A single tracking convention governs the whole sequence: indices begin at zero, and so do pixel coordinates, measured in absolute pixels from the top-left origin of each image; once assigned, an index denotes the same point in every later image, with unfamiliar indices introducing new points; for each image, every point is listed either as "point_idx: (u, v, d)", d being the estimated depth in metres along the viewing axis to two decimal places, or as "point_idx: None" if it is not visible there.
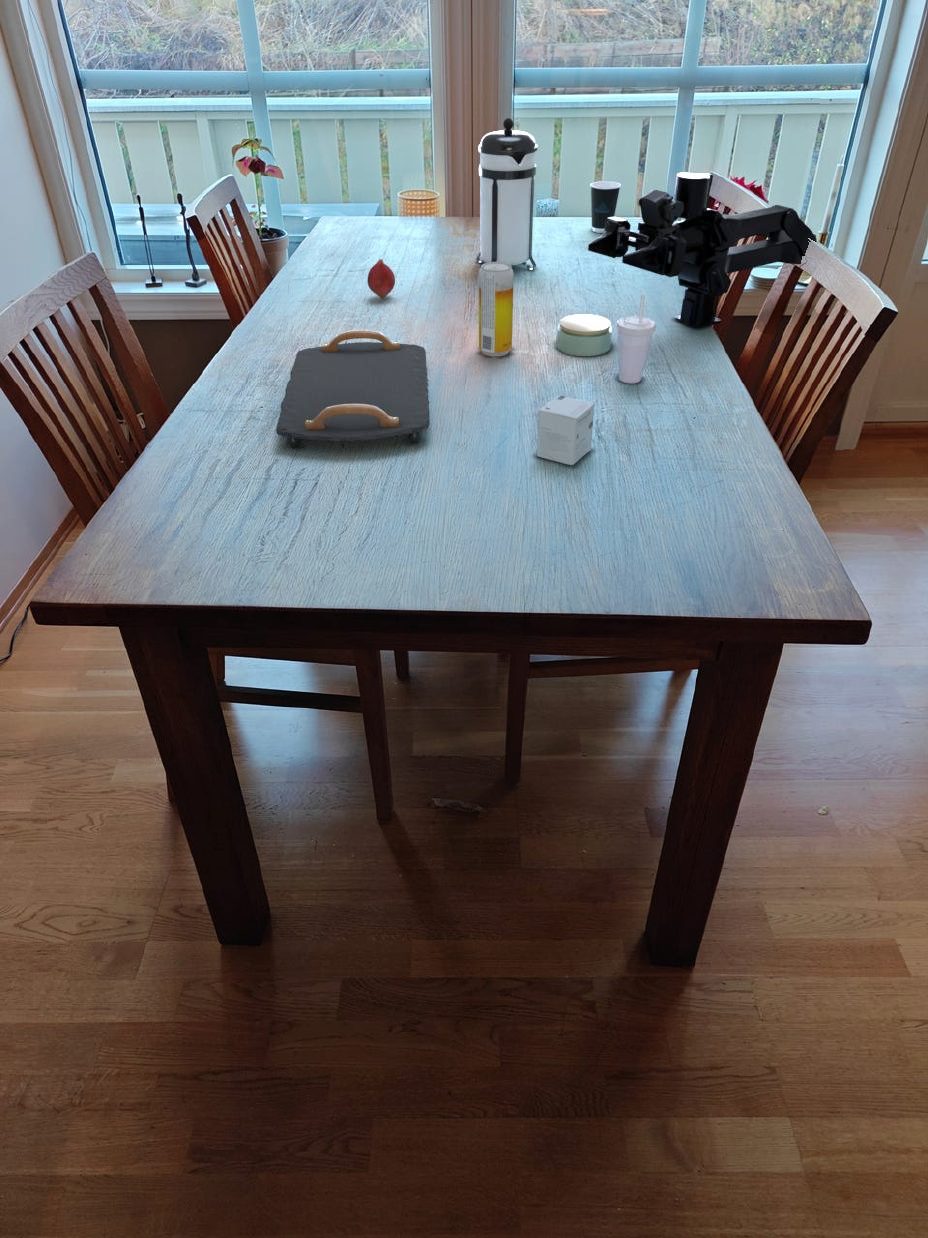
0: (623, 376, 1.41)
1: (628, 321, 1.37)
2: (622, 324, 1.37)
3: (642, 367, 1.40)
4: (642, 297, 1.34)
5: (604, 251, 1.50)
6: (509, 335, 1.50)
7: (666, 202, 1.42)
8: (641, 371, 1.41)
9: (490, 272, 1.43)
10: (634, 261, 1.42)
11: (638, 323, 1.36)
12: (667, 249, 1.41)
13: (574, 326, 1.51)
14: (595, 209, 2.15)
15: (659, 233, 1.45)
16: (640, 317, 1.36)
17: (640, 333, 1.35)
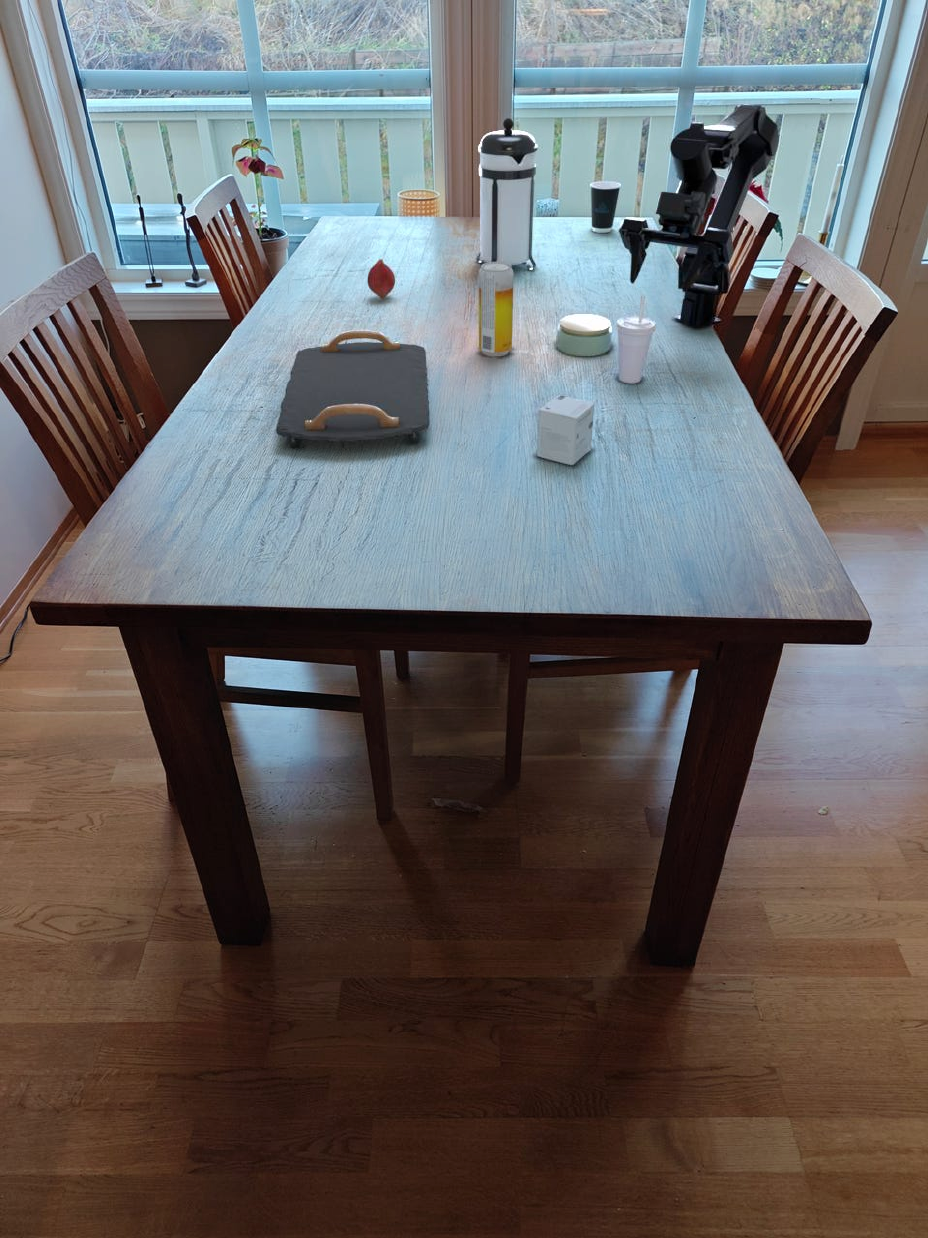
0: (623, 376, 1.41)
1: (628, 321, 1.37)
2: (622, 324, 1.37)
3: (642, 367, 1.40)
4: (642, 297, 1.34)
5: (640, 265, 1.43)
6: (509, 335, 1.50)
7: (690, 207, 1.32)
8: (641, 371, 1.41)
9: (490, 272, 1.43)
10: (692, 281, 1.38)
11: (638, 323, 1.36)
12: (717, 251, 1.35)
13: (574, 326, 1.51)
14: (595, 209, 2.15)
15: (691, 227, 1.37)
16: (640, 317, 1.36)
17: (640, 333, 1.35)
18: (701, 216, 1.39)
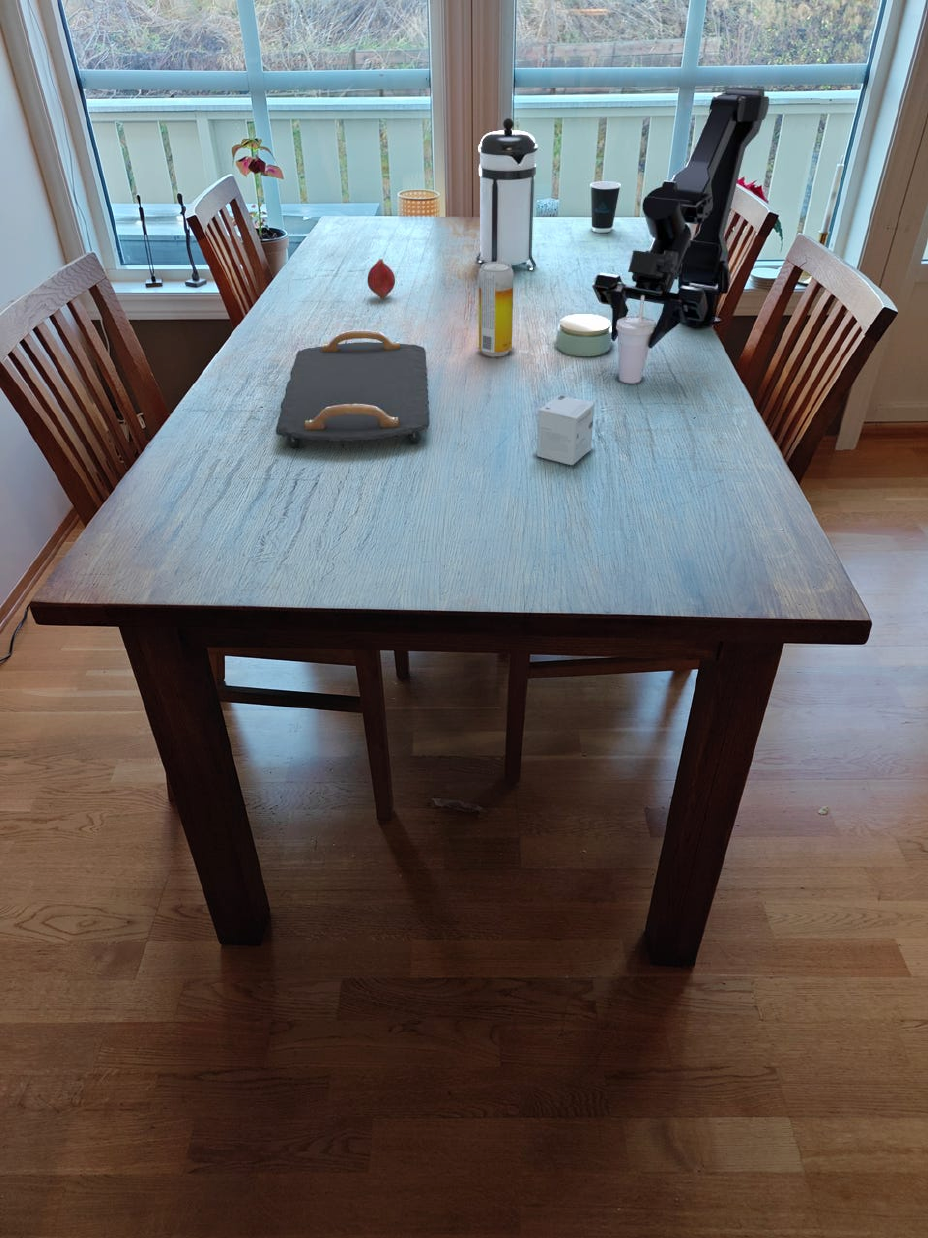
0: (623, 376, 1.41)
1: (628, 321, 1.37)
2: (622, 324, 1.37)
3: (642, 367, 1.40)
4: (642, 297, 1.34)
5: None
6: (508, 335, 1.50)
7: (662, 266, 1.30)
8: (641, 371, 1.41)
9: (490, 272, 1.43)
10: (658, 338, 1.37)
11: (638, 323, 1.36)
12: (683, 309, 1.34)
13: (574, 326, 1.51)
14: (595, 209, 2.15)
15: (664, 285, 1.35)
16: (640, 317, 1.36)
17: (640, 333, 1.35)
18: (675, 273, 1.37)
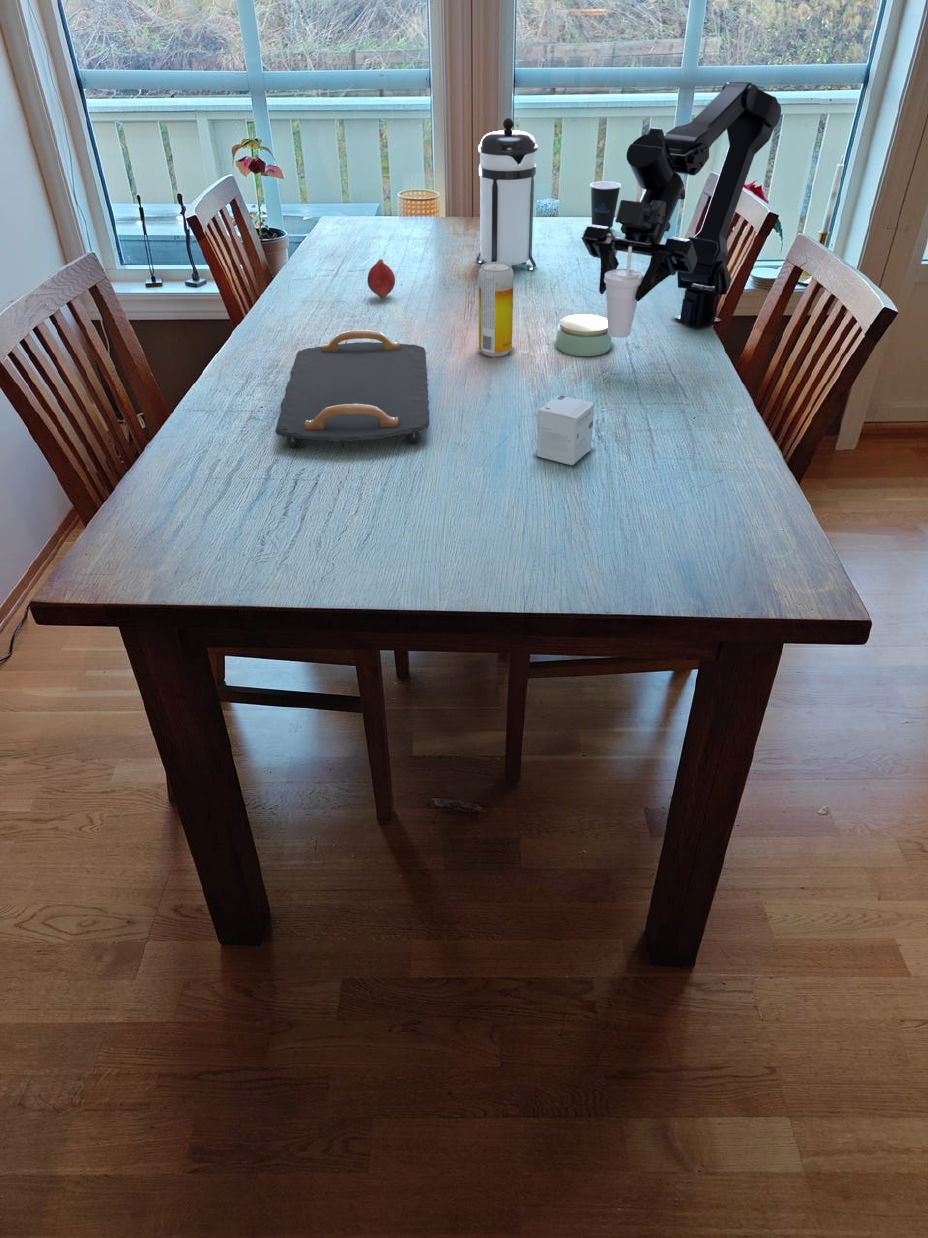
0: (611, 330, 1.40)
1: (616, 273, 1.36)
2: (609, 276, 1.35)
3: (630, 321, 1.39)
4: (629, 248, 1.33)
5: None
6: (509, 335, 1.50)
7: (649, 216, 1.29)
8: (629, 325, 1.39)
9: (490, 272, 1.43)
10: (646, 290, 1.35)
11: (625, 275, 1.35)
12: (670, 260, 1.32)
13: (574, 326, 1.51)
14: (595, 209, 2.15)
15: (653, 236, 1.33)
16: (628, 269, 1.35)
17: (627, 285, 1.34)
18: (665, 224, 1.35)
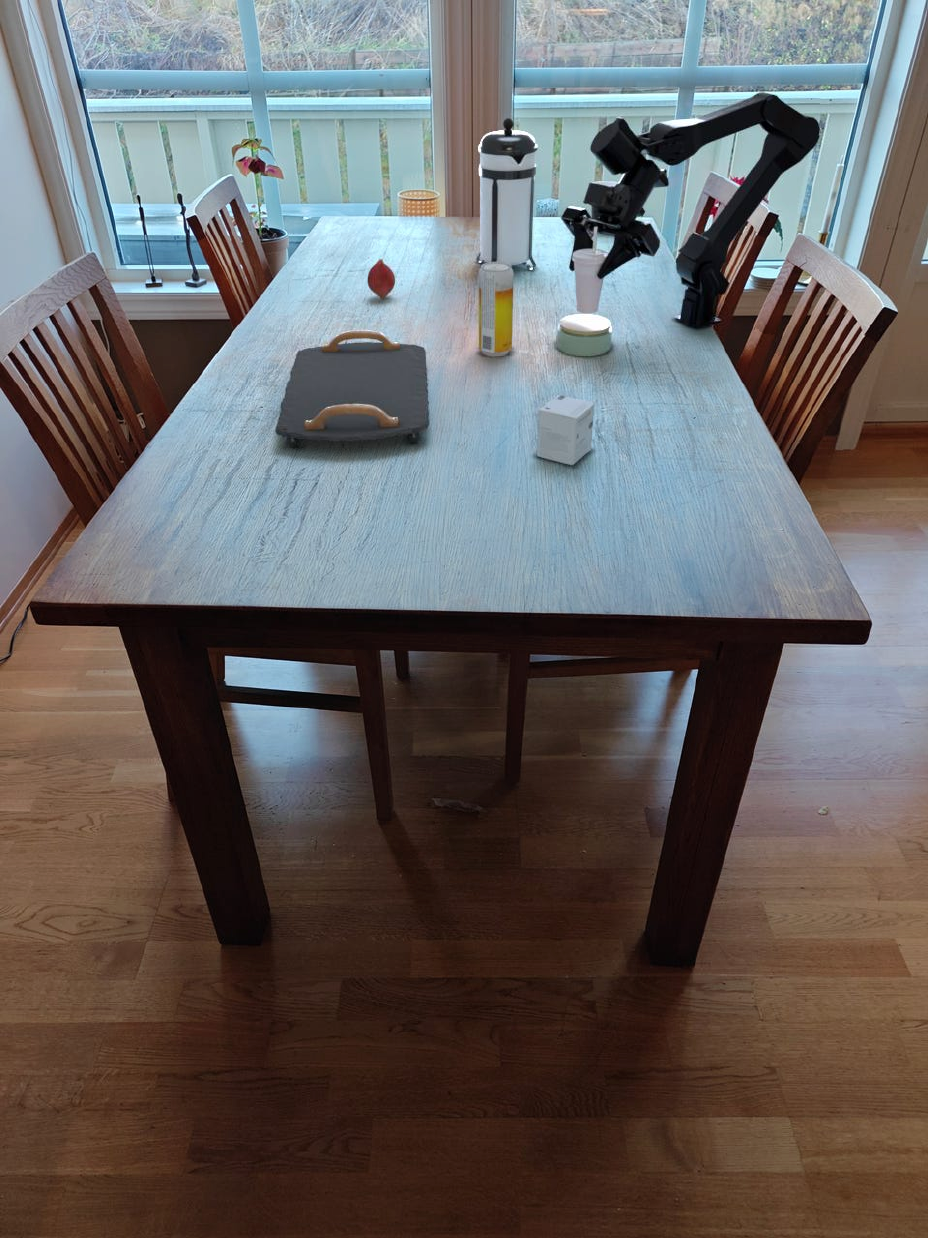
0: (578, 305, 1.50)
1: (583, 252, 1.45)
2: (576, 254, 1.45)
3: (596, 298, 1.48)
4: (594, 228, 1.42)
5: None
6: (509, 335, 1.50)
7: (610, 198, 1.38)
8: (595, 302, 1.49)
9: (490, 272, 1.43)
10: (609, 269, 1.44)
11: (591, 254, 1.44)
12: (631, 242, 1.41)
13: (574, 326, 1.51)
14: None
15: (619, 218, 1.42)
16: (594, 249, 1.44)
17: (589, 263, 1.43)
18: (635, 208, 1.43)
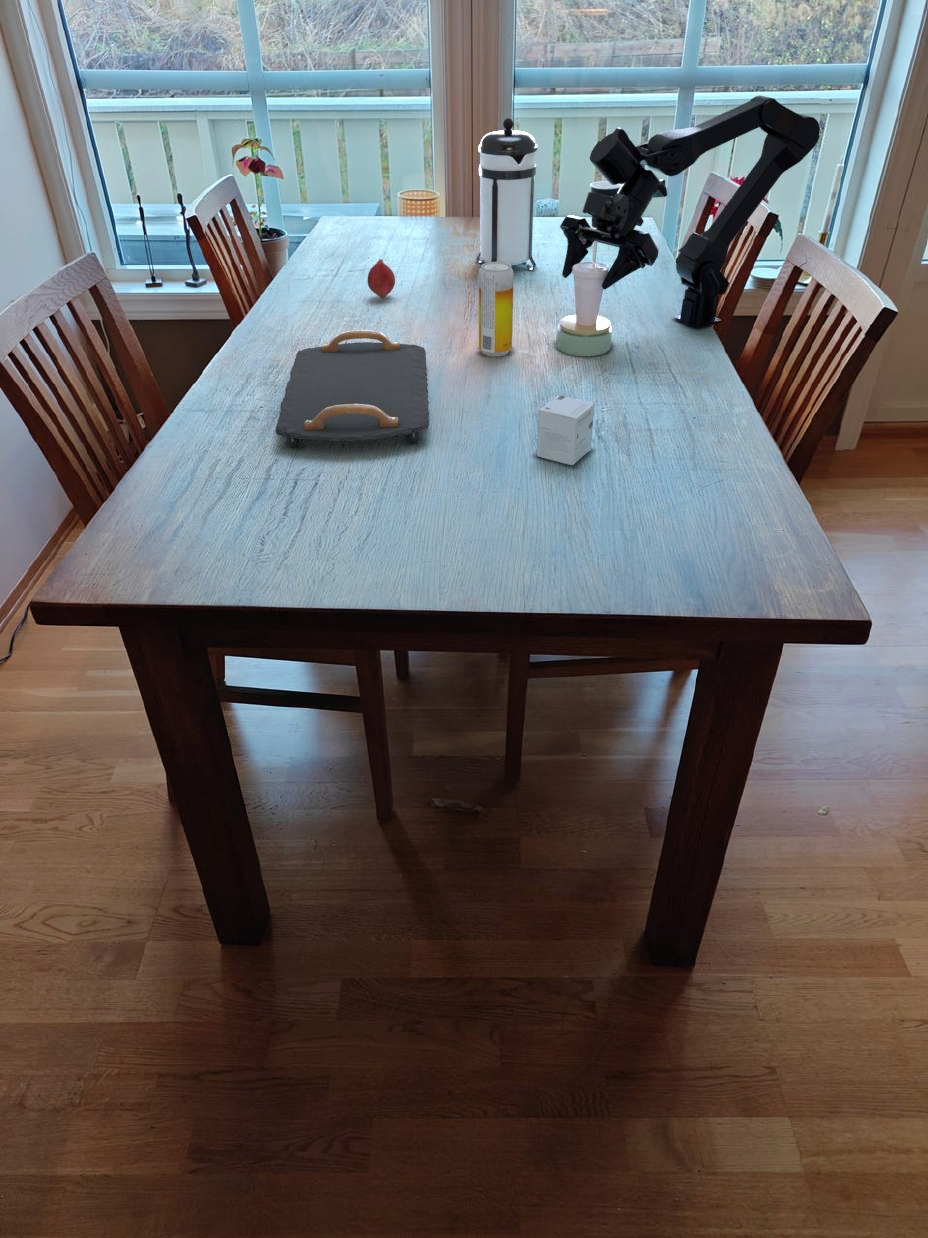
0: (577, 318, 1.51)
1: (583, 265, 1.47)
2: (576, 267, 1.47)
3: (595, 311, 1.50)
4: (594, 242, 1.44)
5: (577, 261, 1.51)
6: (508, 335, 1.50)
7: (609, 208, 1.39)
8: (594, 315, 1.50)
9: (490, 272, 1.43)
10: (613, 280, 1.44)
11: (590, 267, 1.46)
12: (636, 253, 1.41)
13: (574, 326, 1.51)
14: None
15: (618, 228, 1.43)
16: (593, 262, 1.46)
17: (588, 276, 1.45)
18: (634, 218, 1.44)
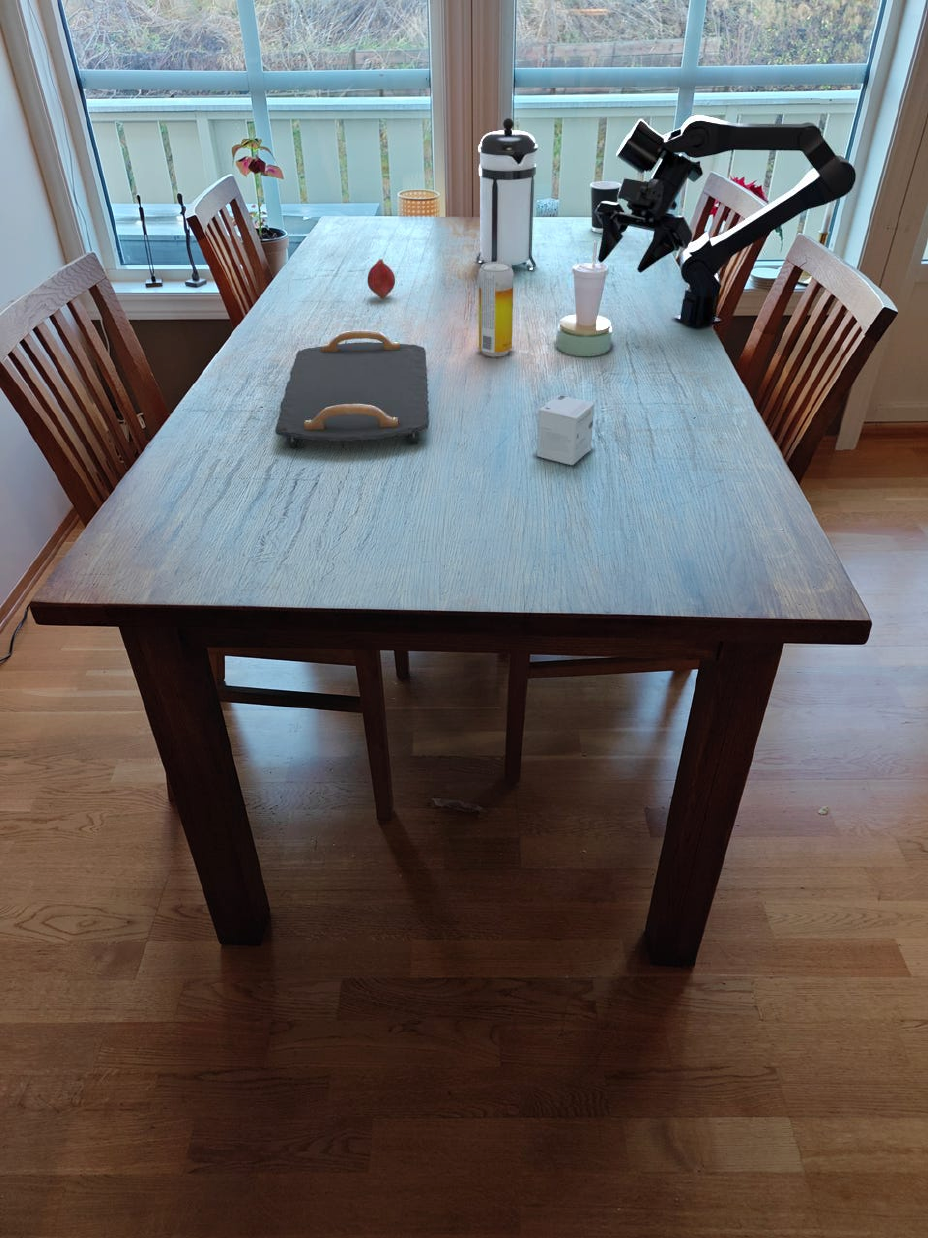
0: (577, 318, 1.51)
1: (583, 265, 1.47)
2: (576, 267, 1.47)
3: (595, 311, 1.50)
4: (594, 242, 1.44)
5: (612, 246, 1.55)
6: (509, 335, 1.50)
7: (644, 193, 1.43)
8: (594, 315, 1.50)
9: (490, 272, 1.43)
10: (648, 263, 1.49)
11: (590, 267, 1.46)
12: (671, 236, 1.45)
13: (574, 326, 1.51)
14: (595, 209, 2.15)
15: (652, 212, 1.47)
16: (593, 262, 1.46)
17: (588, 276, 1.45)
18: (668, 202, 1.49)
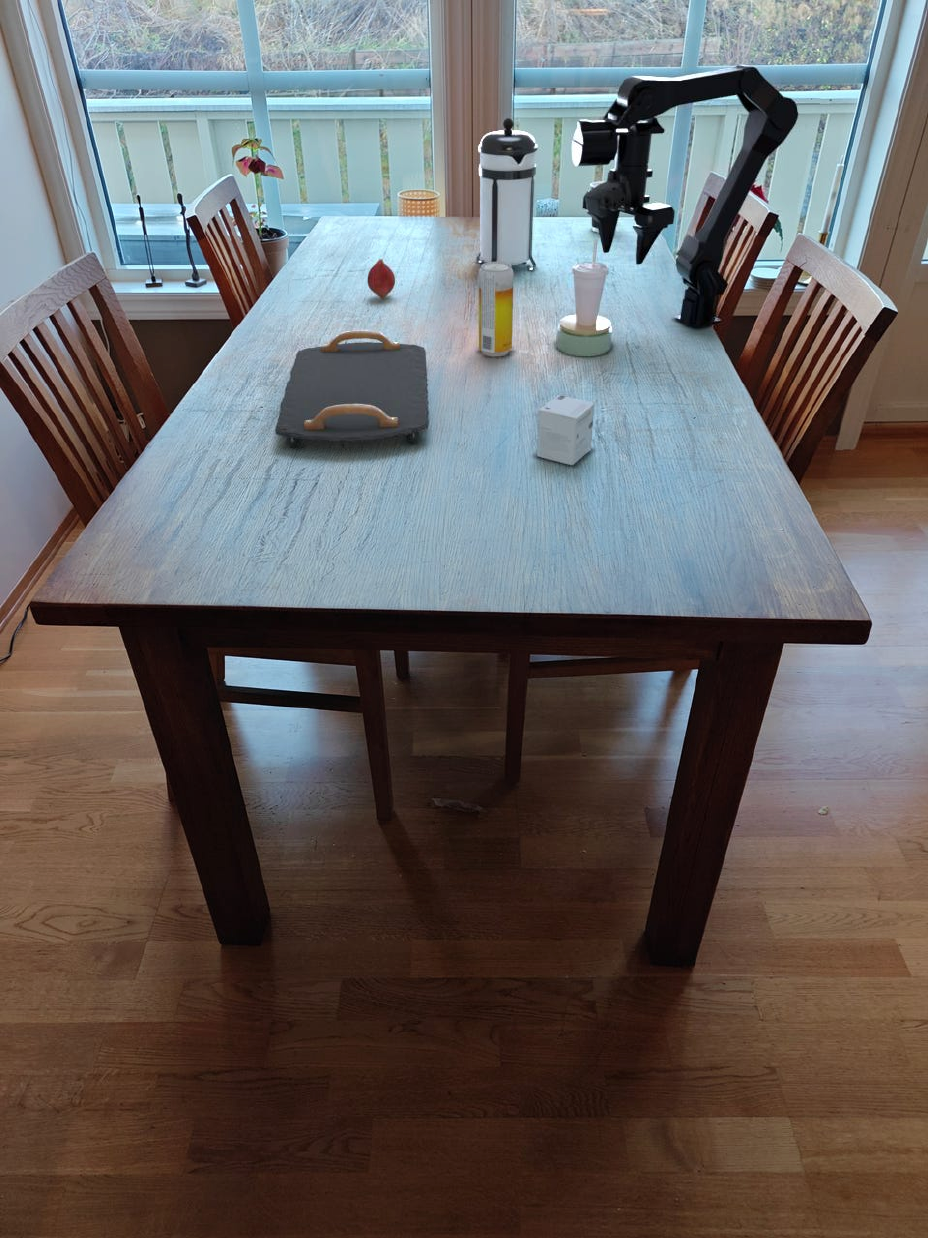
0: (577, 318, 1.51)
1: (583, 265, 1.47)
2: (576, 267, 1.47)
3: (595, 311, 1.50)
4: (594, 242, 1.44)
5: (612, 229, 1.56)
6: (508, 335, 1.50)
7: None
8: (594, 315, 1.50)
9: (490, 272, 1.43)
10: (644, 253, 1.50)
11: (590, 267, 1.46)
12: (650, 229, 1.44)
13: (574, 326, 1.51)
14: None
15: None
16: (593, 262, 1.46)
17: (588, 276, 1.45)
18: (640, 182, 1.44)
